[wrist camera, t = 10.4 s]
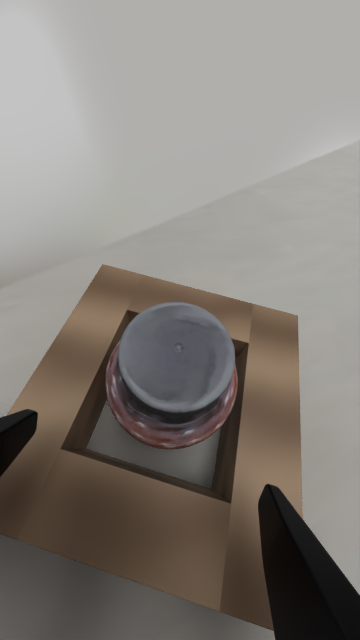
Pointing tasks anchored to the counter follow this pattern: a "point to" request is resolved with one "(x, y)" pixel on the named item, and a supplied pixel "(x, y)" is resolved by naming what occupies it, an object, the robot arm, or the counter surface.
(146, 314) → the supplement bottle
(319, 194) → the counter surface
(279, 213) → the counter surface
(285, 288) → the counter surface
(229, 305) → the walnut well
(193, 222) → the counter surface
